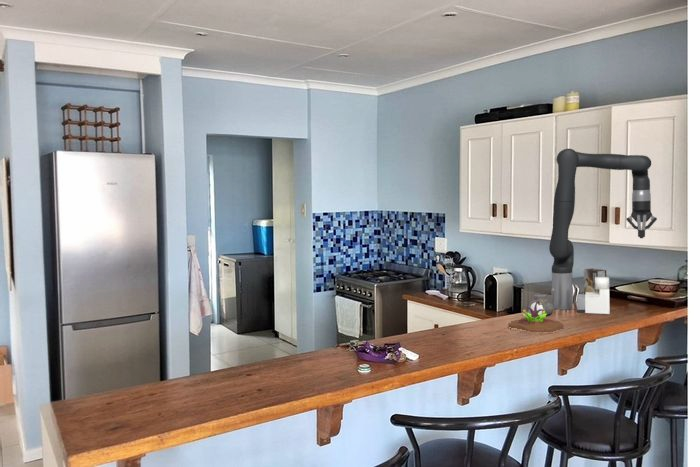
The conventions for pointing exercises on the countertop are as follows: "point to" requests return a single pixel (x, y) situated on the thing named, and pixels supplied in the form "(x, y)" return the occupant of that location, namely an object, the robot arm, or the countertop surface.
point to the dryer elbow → (598, 297)
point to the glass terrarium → (544, 305)
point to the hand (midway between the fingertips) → (641, 238)
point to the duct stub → (581, 303)
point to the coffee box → (592, 279)
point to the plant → (536, 322)
